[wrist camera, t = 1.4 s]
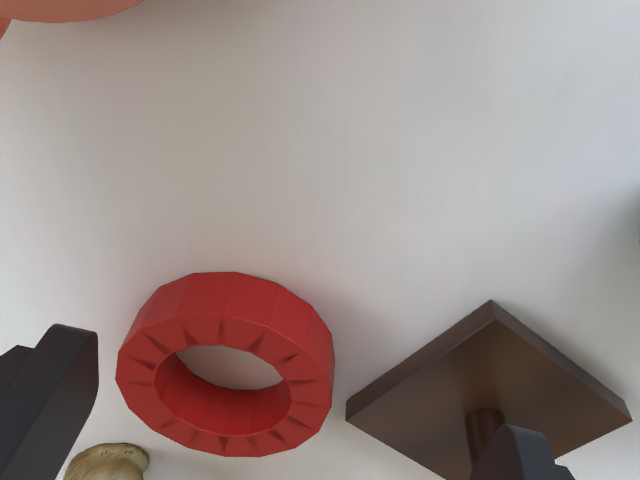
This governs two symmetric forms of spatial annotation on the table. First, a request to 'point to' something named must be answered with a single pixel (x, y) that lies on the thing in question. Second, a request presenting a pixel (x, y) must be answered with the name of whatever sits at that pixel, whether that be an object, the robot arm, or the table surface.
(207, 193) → the table surface
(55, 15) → the sugar bowl
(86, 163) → the table surface
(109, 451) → the chocolate bunny
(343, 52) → the table surface
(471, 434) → the peg stand
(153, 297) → the tape roll
